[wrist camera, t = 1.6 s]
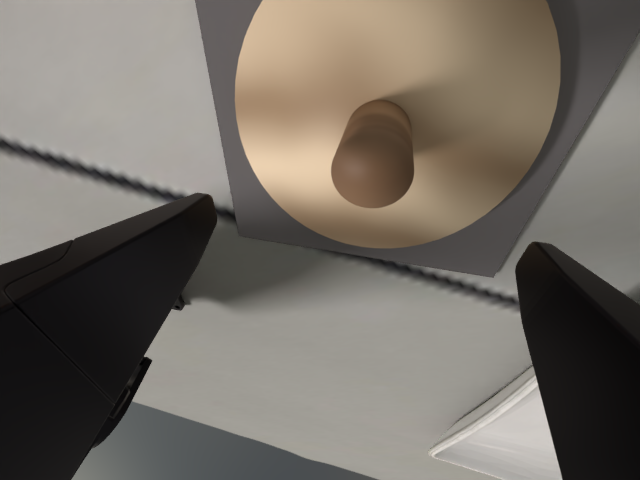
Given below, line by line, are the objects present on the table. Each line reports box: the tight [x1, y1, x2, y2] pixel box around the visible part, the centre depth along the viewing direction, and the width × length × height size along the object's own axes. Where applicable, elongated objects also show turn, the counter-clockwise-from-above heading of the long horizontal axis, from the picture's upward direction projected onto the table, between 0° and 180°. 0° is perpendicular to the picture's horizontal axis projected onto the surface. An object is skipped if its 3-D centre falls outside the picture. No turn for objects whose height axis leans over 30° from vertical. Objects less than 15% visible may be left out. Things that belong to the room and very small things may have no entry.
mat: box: [195, 0, 640, 278], centre depth 15 cm, size 17×17×1 cm
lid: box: [235, 0, 561, 248], centre depth 13 cm, size 14×14×5 cm
